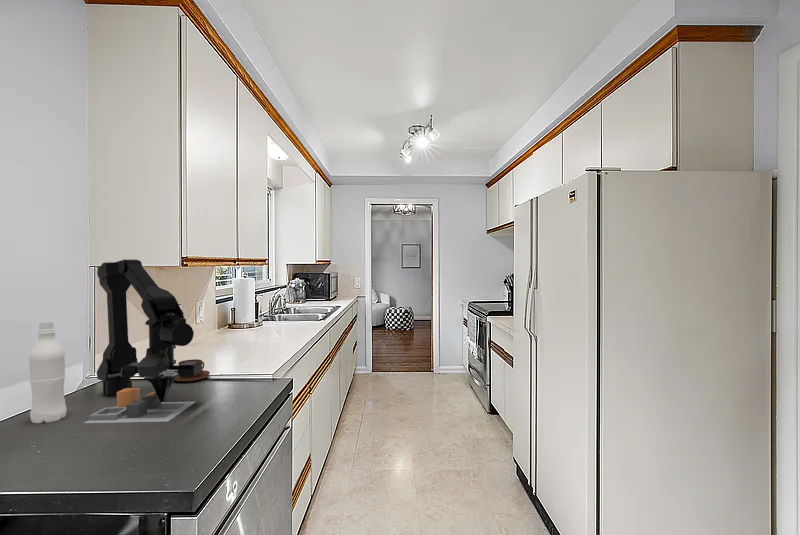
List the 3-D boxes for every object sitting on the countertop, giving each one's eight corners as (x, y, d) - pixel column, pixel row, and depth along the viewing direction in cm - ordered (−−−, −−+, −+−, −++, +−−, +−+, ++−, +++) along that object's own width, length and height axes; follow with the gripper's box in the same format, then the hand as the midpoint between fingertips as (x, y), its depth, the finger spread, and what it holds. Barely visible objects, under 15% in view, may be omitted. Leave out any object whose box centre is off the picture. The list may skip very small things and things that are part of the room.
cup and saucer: (181, 375, 167) (181, 358, 167) (215, 375, 167) (215, 357, 167) (163, 384, 155) (163, 365, 155) (200, 384, 155) (199, 365, 155)
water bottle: (73, 421, 119) (71, 321, 119) (44, 431, 112) (41, 325, 112) (53, 418, 122) (51, 320, 121) (23, 428, 115) (20, 324, 115)
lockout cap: (116, 407, 125) (116, 392, 125) (125, 402, 129) (125, 388, 129) (132, 407, 125) (131, 392, 125) (140, 402, 129) (140, 388, 129)
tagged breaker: (142, 408, 123) (141, 395, 123) (150, 403, 127) (149, 391, 127) (153, 408, 123) (153, 395, 123) (161, 403, 127) (161, 391, 127)
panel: (83, 429, 113) (83, 410, 113) (121, 408, 129) (121, 391, 129) (168, 427, 113) (167, 408, 113) (196, 407, 129) (195, 390, 129)
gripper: (107, 349, 117) (108, 412, 117) (183, 347, 117) (185, 410, 118) (131, 341, 128) (133, 399, 128) (201, 340, 128) (203, 397, 129)
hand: (162, 401), depth 125 cm, fingers closed
